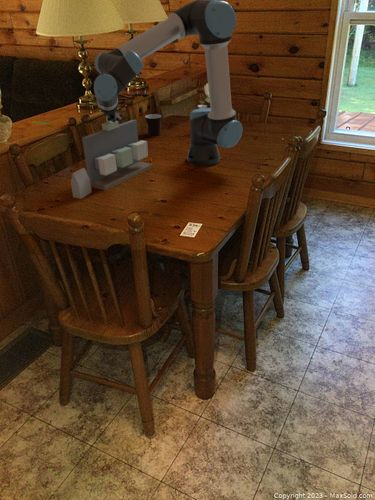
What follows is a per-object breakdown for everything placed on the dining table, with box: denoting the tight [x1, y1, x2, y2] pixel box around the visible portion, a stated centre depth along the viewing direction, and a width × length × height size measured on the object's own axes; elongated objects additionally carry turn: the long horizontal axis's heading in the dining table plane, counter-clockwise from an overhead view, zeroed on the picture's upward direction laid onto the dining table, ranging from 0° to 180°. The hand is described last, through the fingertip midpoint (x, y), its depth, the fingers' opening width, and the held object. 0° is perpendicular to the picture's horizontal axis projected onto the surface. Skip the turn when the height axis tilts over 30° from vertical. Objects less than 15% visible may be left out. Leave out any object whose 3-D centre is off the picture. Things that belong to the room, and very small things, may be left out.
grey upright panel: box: [81, 119, 153, 191], centre depth 180 cm, size 16×30×22 cm, turn 145°
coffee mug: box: [144, 113, 162, 137], centre depth 233 cm, size 12×9×10 cm
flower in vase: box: [197, 82, 210, 109], centre depth 232 cm, size 13×11×25 cm
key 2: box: [127, 140, 149, 161], centre depth 186 cm, size 8×6×6 cm
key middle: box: [111, 147, 133, 168], centre depth 180 cm, size 8×6×6 cm
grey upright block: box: [70, 167, 92, 200], centre depth 166 cm, size 4×7×10 cm, turn 153°
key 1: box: [93, 154, 117, 175], centre depth 173 cm, size 8×6×6 cm
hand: (109, 119), depth 178 cm, fingers closed
